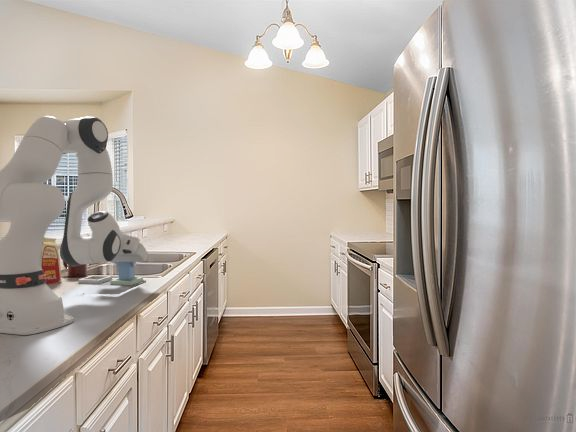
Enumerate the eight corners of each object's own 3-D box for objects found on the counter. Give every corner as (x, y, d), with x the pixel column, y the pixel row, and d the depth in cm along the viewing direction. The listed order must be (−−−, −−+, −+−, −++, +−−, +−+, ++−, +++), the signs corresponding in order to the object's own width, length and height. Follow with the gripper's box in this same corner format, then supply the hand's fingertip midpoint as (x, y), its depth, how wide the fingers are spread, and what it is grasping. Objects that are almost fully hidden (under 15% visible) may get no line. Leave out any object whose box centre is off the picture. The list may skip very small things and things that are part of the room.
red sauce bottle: (41, 287, 154) (40, 236, 153) (28, 285, 159) (27, 235, 158) (64, 283, 162) (63, 235, 161) (51, 281, 167) (50, 234, 166)
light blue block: (129, 279, 157) (129, 252, 157) (118, 279, 157) (118, 251, 157) (134, 277, 161) (134, 250, 161) (124, 277, 162) (124, 250, 161)
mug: (93, 277, 176) (92, 254, 176) (77, 280, 168) (76, 256, 168) (72, 275, 180) (72, 253, 180) (55, 278, 172) (55, 255, 171)
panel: (146, 282, 165) (146, 276, 164) (130, 288, 153) (130, 282, 153) (93, 280, 168) (93, 274, 168) (74, 286, 156) (74, 280, 156)
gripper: (85, 250, 148) (100, 271, 158) (137, 250, 147) (149, 272, 157) (91, 237, 153) (105, 258, 163) (142, 237, 151) (153, 259, 161)
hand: (127, 265), depth 160 cm, fingers closed on light blue block, 4 cm apart
